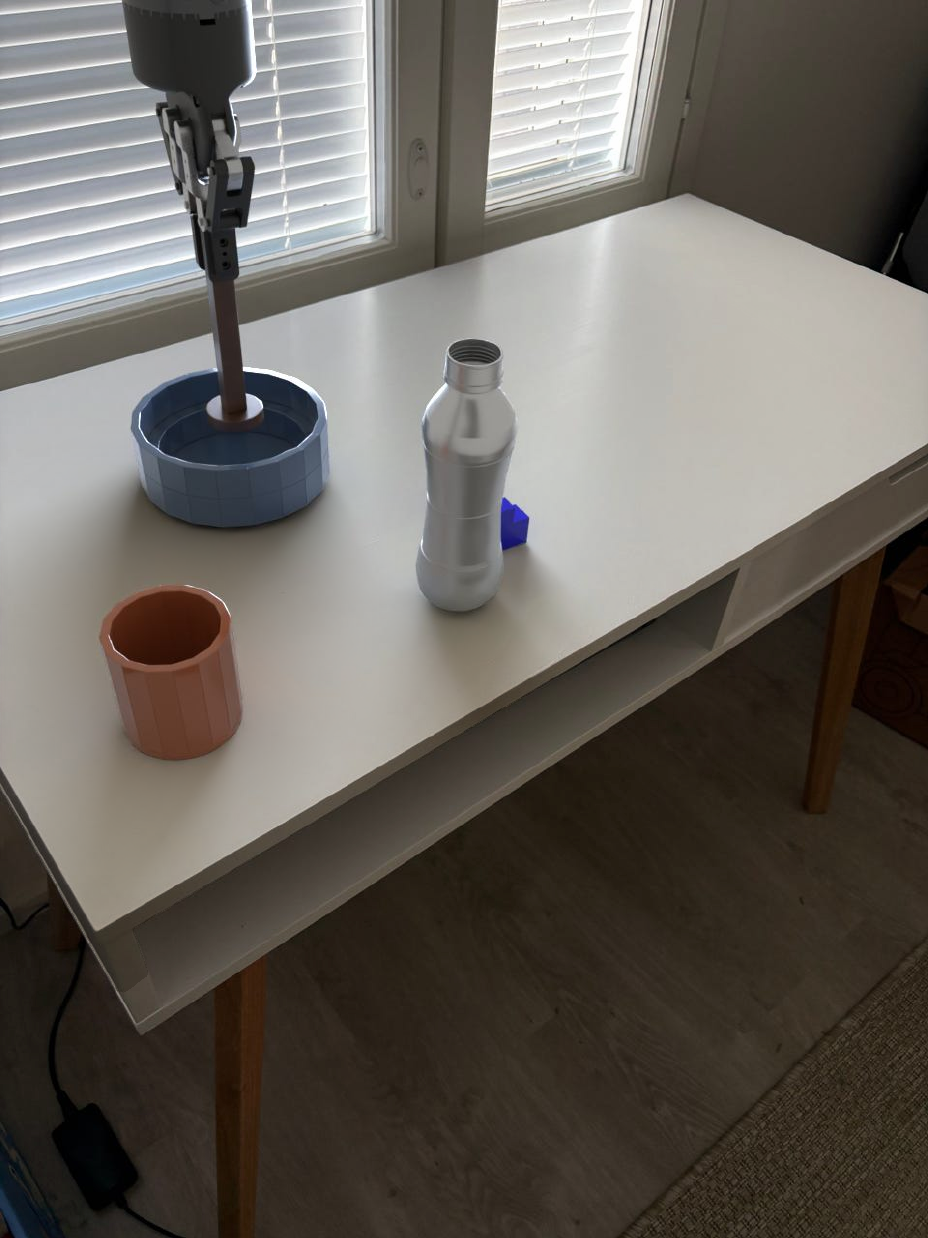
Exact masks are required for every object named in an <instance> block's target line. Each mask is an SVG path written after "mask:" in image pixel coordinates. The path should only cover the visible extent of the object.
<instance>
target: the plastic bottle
mask: <svg viewBox="0 0 928 1238" xmlns="http://www.w3.org/2000/svg"><path fill="white" fill-rule="evenodd" d="M444 360H445V361H444V362H445V363H444V367H443V374H442V377H443V381H444V382H445V384H443V386H442V387H441V388H439V390H438V391H437V392H436V393H435V394H434V396H433V398H431V400H430V401H429V403H428V404H427V406H426V408H425V411H424V414H423V416H422V421H421V435H422V436H421V437H422V443H423V453H424V461H425V469H426V510H425V517H424V525H423V531H422V537H421V540H420V544H419V546H418V551H417V556H416V561H415V573H416V578H417V585H418V587H419V590H420V591H421V593H422V594H423V596H424V597H425V598H426V599H427V600H428V601H430V603H431V604H433V605H435V606H436V607H437V608H440V609H442V610H444V611H445V610H446V611H450V612H468V611H472V610H475V609H478V608H480V607H481V606H483V605H484V604H486V603H487V602H489V601H490V600H491V599H492V598H493V597H494V595H495V594H497V592H498V588H499V586H500V583H501V580H502V578H503V575H504V553H503V551H502V546H501V504H502V498H503V497H504V493H505V492H504V491H505V485H506V479H507V475H508V472H509V467H510V464H511V460H512V457H513V452H514V449H515V445H516V443H517V442H516V441H517V436H518V431H519V423H518V419H517V414H516V410H515V408H514V406H513V404H512V403H511V401H510V399H509V397H508V396H507V394H506V393H505V392H504V390H503V389H502V387H501V385H502V383H503V380H504V369H503V367H504V366H503V365H504V352H503V348H502V347H501V346H500V345H499V344H498V343H496V342H493V341H491V340H489V339H485V338H478V337H466V338H460V339H457V340H455V341H453V342H451V343H450V344H449V345H448V346H447V348H446V350H445V359H444Z"/></svg>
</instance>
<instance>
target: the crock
mask: <svg viewBox="0 0 928 1238" xmlns="http://www.w3.org/2000/svg"><path fill="white" fill-rule="evenodd" d="M232 619H233V618H232V614H231V613H230V611H229V609H228V607H227V605H226V603H225V602H224V601H223V600H222V599H220V598H219V597H217V596H216V595H215V594H213V593H212V592H210V590H206V589H203V588H199V587H196V586H191V585H188V584H162V585H157V586H153V587H149V588H146V589H143V590H139V591H136V592H133V593H132V594H130V595H128V596H127V597H125V598H124V599H122V600H120V601H118V602H117V603H116V604H115V605H113V607H112V608H111V610H109V612H108V613H107V614H106V616H105V617H103V620H102V621H101V627H100V631H99V635H98V640H99V644H100V648H101V651H102V655H103V659H104V663H105V666H106V670H107V674H108V677H109V682H110V685H111V689H112V692H113V696H114V700H115V705H116V707H117V712H118V715H119V719H120V722H121V724H122V728H123V730H124V734H125V735H126V738H127V740H128V741H129V742H130V744H131V745H132V746H133V747H134V748H136V749H137V750H138V751H140V752H141V753H143V754H145V755H147V756H150V757H153V758H156V759H161V760H168V761H179V760H188V759H193V758H197V757H201V756H203V755H205V754H208V753H211V752H212V751H214V750H216V749H218V748H219V747H221V746H222V745H224V744H225V743H226V742H227V741H229V739H230V738H231V737H232V736H233V735H234V734H235V733H236V731H237V729H238V728H239V725H241V721H242V718H243V712H244V707H243V694H242V693H243V692H242V683H241V678H240V670H239V663H238V657H237V648H236V641H235V634H234V627H233V626H234V625H233V620H232Z"/></svg>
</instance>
